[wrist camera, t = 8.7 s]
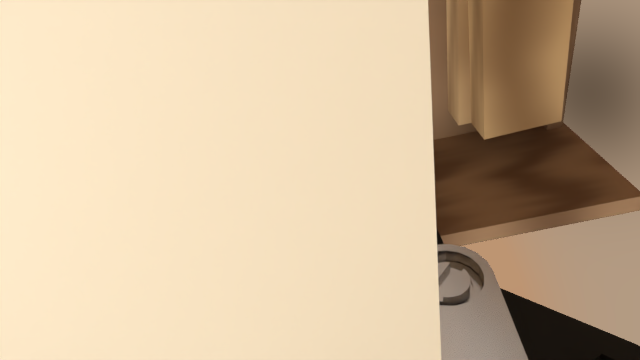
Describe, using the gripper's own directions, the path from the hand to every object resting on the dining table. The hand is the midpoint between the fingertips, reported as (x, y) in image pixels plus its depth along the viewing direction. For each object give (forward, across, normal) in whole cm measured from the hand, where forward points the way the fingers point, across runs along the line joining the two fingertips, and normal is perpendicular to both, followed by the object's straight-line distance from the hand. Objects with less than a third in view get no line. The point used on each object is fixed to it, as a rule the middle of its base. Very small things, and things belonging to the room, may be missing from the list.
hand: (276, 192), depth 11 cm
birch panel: (+2, 0, 0) cm, 2 cm away
